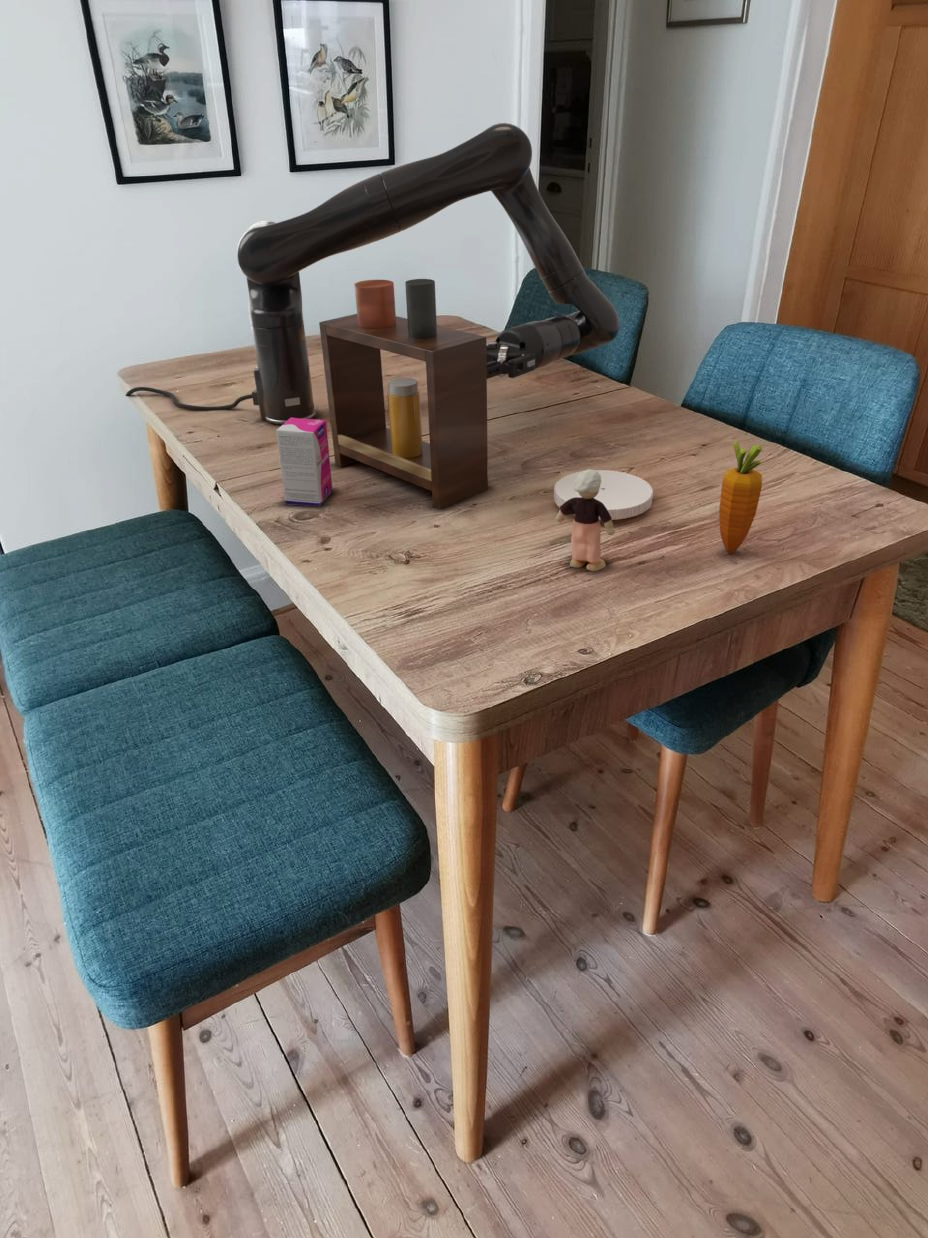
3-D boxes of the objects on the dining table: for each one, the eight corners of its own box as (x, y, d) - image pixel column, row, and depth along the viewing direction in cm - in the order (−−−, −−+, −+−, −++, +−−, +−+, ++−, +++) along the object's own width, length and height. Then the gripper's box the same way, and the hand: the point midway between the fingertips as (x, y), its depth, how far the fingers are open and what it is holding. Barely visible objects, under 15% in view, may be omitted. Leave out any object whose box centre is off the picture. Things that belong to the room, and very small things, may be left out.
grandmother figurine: (615, 560, 106) (623, 467, 100) (610, 574, 103) (617, 480, 97) (557, 552, 109) (560, 461, 102) (550, 566, 106) (553, 473, 99)
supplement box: (322, 507, 122) (312, 432, 116) (284, 504, 123) (272, 430, 117) (334, 491, 127) (326, 418, 121) (298, 488, 128) (288, 416, 122)
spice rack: (335, 464, 136) (313, 271, 120) (382, 448, 142) (367, 261, 126) (440, 509, 121) (430, 295, 105) (488, 488, 126) (486, 282, 110)
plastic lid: (551, 485, 127) (551, 470, 125) (643, 485, 126) (644, 469, 125) (556, 527, 115) (557, 510, 114) (658, 526, 114) (660, 509, 113)
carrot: (705, 545, 109) (721, 436, 101) (741, 543, 110) (761, 434, 102) (717, 563, 105) (735, 451, 97) (756, 561, 105) (777, 448, 97)
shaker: (385, 452, 129) (379, 382, 123) (408, 444, 132) (404, 375, 126) (405, 460, 126) (401, 388, 120) (429, 451, 129) (425, 381, 123)
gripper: (497, 317, 142) (427, 336, 132) (562, 330, 133) (492, 351, 124) (498, 361, 146) (430, 383, 136) (560, 377, 137) (492, 401, 128)
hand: (459, 368), depth 130 cm, fingers open, 8 cm apart
